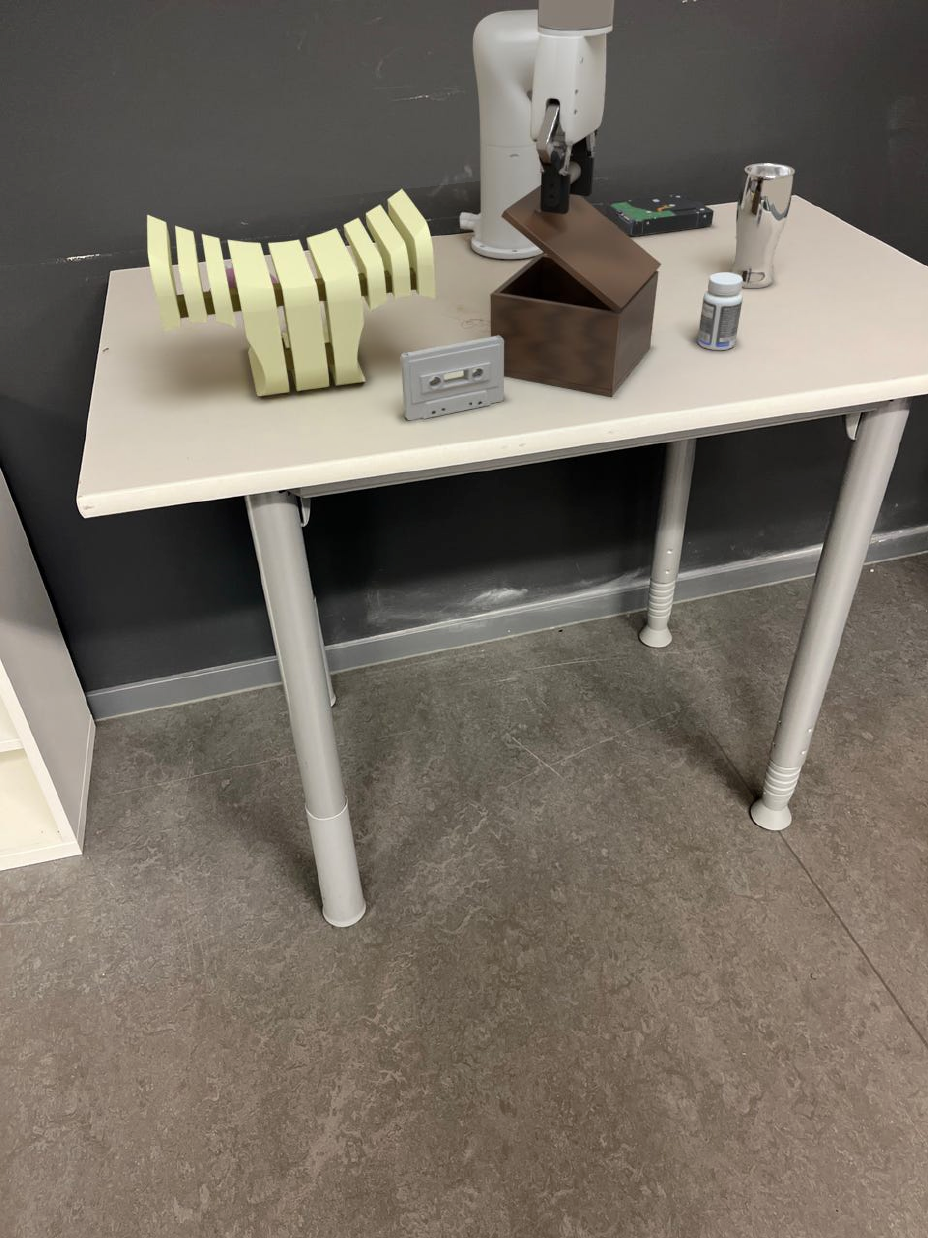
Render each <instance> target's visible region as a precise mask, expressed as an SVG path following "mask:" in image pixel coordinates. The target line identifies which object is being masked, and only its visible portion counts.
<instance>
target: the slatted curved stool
mask: <svg viewBox="0 0 928 1238" xmlns="http://www.w3.org/2000/svg"><path fill="white" fill-rule="evenodd" d="M387 210H388V214H387V212H386V211H385V210H384V208H383V206H382V204H378V205H377V206H375V207H373V208H372V209H371V210H369V211H367V212H365V223H366V226H367V229H368V230H369V232H370V234H371V236H372V238H373V240H374V242H373V240H372V238H371V237H370V235H369V233H368V232H367V230H366V228H365V227H364V225H363V223H362V221H361V219H360V218H359V217H357V218H354V219H353V220H350V221H348V222H347V223H344V224H343V231H344V237H345V239H346V241H347V243H348V245H349V247H350V250H351V251H352V252H351V253H352V254H353V257H354V260H355V262H354V260H353V257H352V256H351V254H350V252H349V250H348V249H347V246H346V244H345V242H344V240H343V238H342V237H341V234H340V232H339V230H338V228H337V227H335V228H333V229H331V230H328V231H325V232H322V233H319V234H316V235H312V236H309V237H306V244H307V249H308V251H309V254H310V257H311V260H312V263H313V265H314V268H315V271H316V275H317V277H316V278H315V276H314V274H313V272H312V269H311V267H310V264H309V261H308V259H307V256H306V254H305V251H304V248H303V246H302V243H301V241H300V239H295V240H288V241H280V242H279V241H277V242H268V243H267V245H268V251H269V252H268V253H269V255H270V258H271V262H272V266H273V269H274V273H275V276H276V277H275V278H276V280H277V282H278V283H274V284H272V282H271V278H270V275H269V274H270V271H269V268H268V265H267V262H266V258H265V255H264V252H263V251H264V250H263V248H262V244H261V243H260V242H251V241H239V240H234V239H233V240H231V239H227V245H228V250H229V255H230V256H229V257H230V261H231V265H232V266H233V271H234V275H235V280H236V285H237V288H232V289H229V287H228V282H227V277H226V272H225V267H224V266H225V263H224V262H225V261H224V257H223V252H222V247H221V241H220V238H219V237H216V236H213V235H212V236H211V235H207V234H203V233H201V239H202V245H203V251H204V257H205V264H206V271H207V276H208V277H207V278H208V282H209V289H211V291H209V290H208V291H207V290H206V291H204V289H203V283H202V277H201V271H200V265H199V259H198V252H197V251H198V250H197V244H196V239H195V234H194V231H193V230H189V229H187V228H183V227H180V226H177V225H174V229H175V240H176V241H175V242H176V253H177V254H176V255H177V265H178V271H179V277H180V282H181V287H182V292H183V293H182V294H181V293H180V294H178V290H177V287H176V286H177V285H176V281H175V275H174V269H173V263H172V262H173V260H172V251H171V241H170V240H171V239H170V235H169V229H168V225H167V222H166V221H164V220H161V219H160V218H157V217H154V216H152V215H149V214H146V231H147V232H146V234H147V235H146V236H147V237H146V238H147V240H146V241H147V243H146V244H147V257H148V263H149V269H150V275H151V280H152V284H153V288H154V293H155V297H156V301H157V305H158V309H159V313H160V319H161V323H162V326H163V330H164V332H168V331H170V330H173V329H175V328H178V327H182V326H183V325H182V324H183V323H182V319H185V318H186V319H187V318H188V319H189V323H190V324H197V323H205V322H209V318H208V316H210V315H211V316H212V315H215V318H216V323H220V324H225V325H229V326H231V327H233V328H235V329H237V324H236V320H235V314H234V313H235V312H236V313H237V312H241V317H242V322H243V326H244V331H245V337H246V340H247V341H248V342H249V344H250V347H249V349H248V351H247V353H248V359H249V363H250V368H251V373H252V377H253V383H254V387H255V392H256V395H257V396H258V397H264V396H271V395H278V394H286V393H290V383H289V377H288V376H289V375H288V371H290V372H291V376H292V379H293V383H294V386H295V391H297V392H300V391H308V390H315V389H322V388H328V387H330V378H329V377H330V376H329V371H330V374H331V378H332V379H333V383H334V385H335V386H337V387H338V386H342V385H343V386H344V385H351V384H357V383H364V382H366V377H365V375H364V373H363V371H362V368H361V366H360V363H359V361H358V352H359V345H360V339H361V336H362V331H363V328H364V325H365V320H364V309H363V299H362V297H363V298H364V300H365V302H366V305H367V306H368V308H369V310H370V312H373V311H374V309H376V308H377V307H378V306H380V305H381V304H383V303H386V302H387V301H388V300H387V294H392V296H393V298H394V299H399V298H407V297H412V291H415V292H416V294H417V295H418V297H423V298H432V299H436V298H437V297H436V275H435V256H434V248H433V247H434V246H433V241H432V237H431V233H430V232H431V231H430V229H429V225H428V223H427V220H426V219H425V218H424V216H423V215H422V213H421V212H420V211H419V210H418V207H417V206H415V204H414V203H413V201H412V199H410V197H409V196H408V194H407V193H406V192H405V191H404V189H403V188H401V189H400V190H397V192H395V193H394V194H393V195H391V196H390V197H389V198H387ZM374 243H375V244H374ZM375 245H376V246H375ZM355 263H356V264H355ZM320 302H323V309H324V314H325V321H326V327H323V319H322V312H321V304H320ZM278 307H282V311H283V315H284V321H285V327H286V328H285V329H286V332H281V325H280V319H279V314H278Z"/></svg>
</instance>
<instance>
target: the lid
mask: <svg viewBox="0 0 928 1238" xmlns="http://www.w3.org/2000/svg"><path fill="white" fill-rule="evenodd" d="M567 174H571V180H570V184H572V183H573V182H574V181H576V180H577V179H578V178H579V177H580V174H581V169H580V166H579V165H578V164H577V163H576V162H569V166H568V171H567ZM540 200H541V185H540V186H538V187H537V188H536V189H534V190H533V191H531V192H530V193H528V194H527V195H526V196H524V197H523V198H521V199H520V200H518V201H517V202H516V203H514V204H513V205H511V206H510V207H508V208H507V209H506V210H504V212H503V214H502V215H501V217H502V218H504V219H505V220H506V221H507V222H508V223H510V224H511V225H512V226H513V227H514V228H515V229H517V230H518V231H519V232H520V233H521V234H523V235H524V236H525V237H526V238H527V239H529V240H530V241H531V242H532V243H533V244H535V245H536V246H537V247H538V248H539V249H541V250H542V251H543V252H544V253H543V254H544V255H548V256H549V257H550V258H551V259H553V260H554V261H555V262H556V263H557V264H559V265H560V266H561V267H562V268H563V269H564V270H566V271H567V272H568V273H569V274H570V275H572V276H573V277H574V278H575V279H576V280H578V281H579V282H580V283H581V284H582V285H584V286H585V287H586V288H587V289H588V290H590V291H591V292H592V293H593V294H594V295H596V296H597V297H598V298H599V299H600V300H602V301H603V302H604V303H605V304H606V305H607V306H609V307H610V308H611V309H612V310H613V311H615V312H616V313H618V312H619V311H620V310H621V309H622V308H623V307H624V306H625V305H626V303H627V302H628V301H629V300H630V299H631V298H632V297H633V296H634V295H635V294H636V292H637V291H638V290H639V289H640V288H641V287H642V286H643V285H644V284H645V283H646V281H647V280H648V279H649V278H650V277H651V276H652V275H653V274H654V273H655V272H656V271H658V270H659V268H660V267H661V266H662V263H661V262H660V261H659V260H657V259H656V258H655V257H654V256H652V255H651V254H650V253H649V252H648V251H647V250H645V249H644V247H641V245H640V244H638V243H637V242H636V241H634V239H632V238H631V237H630V235H628V234H627V233H626V232H624V231H623V230H621V229H620V228H619V227H617V226H616V225H615V224H613V223H612V222H611V221H610V220H609V219H608V218H606V215H604V214H603V213H602V212H600V211H599V210H598V209H596V207H594V206H593V205H592V204H590V202H588V201H587V200H586V199H585V198H584V197H583V196H580V195H573V194H570V200H569V211H568V212H567V213H566V214H558V213H551V212H543V211H542V210H541V209H540Z"/></svg>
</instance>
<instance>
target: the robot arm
mask: <svg viewBox="0 0 928 1238" xmlns="http://www.w3.org/2000/svg"><path fill="white" fill-rule="evenodd" d="M614 11H615V0H537V9H536V8H535V9H515V10H514V9H513V10H504V11H503V10H502V11H498V12H494V13H491V14H488V15H486V16H485V17H483V18H482V19H481V20H480V21H479V22H478V23H477V25H476V26H475V29H474V32H473V35H472V57H473V64H474V71H475V79H476V86H477V96H478V110H479V111H478V112H479V166H480V168H479V169H480V170H479V173H480V175H479V177H480V178H479V179H480V181H479V182H480V212H479V213H478V214H474V213H472V212H464V211H462V212H461V213H460V215H459V226H460V227H459V228H460V229H461V230H467V231H468V230H471V231H473V232H474V235H473V236H472V238H471V240H470V241H471V245H470V246H471V249H472V250H473V251H474V252H475V253H477V254H478V255H480V256H484V257H487V258H490V259H499V260H522V259H528V258H529V259H530V258H535V257H536V256H537V255H538V254H545V253H544V252H543V251H542V250H541V249H539V248H538V247H537V246H536V245H535V244H533V243H532V242H531V241H530V240H529V239H527V238H526V237H525V236H524V235H523V234H521V233H520V232H519V231H518V230H517V229H515V228H514V227H513V226H512V225H511V224H510V223H508V222H507V221H506V220H505V219H504V218H502V217H501V215H502V214H503V212H504V210H506V209H507V208H508V207H510V206H511V205H513V204H514V203H516V202H517V201H518V200H520V199H521V198H523V197H524V196H526V195H527V194H528V193H530V192H531V191H533V190H534V189H536V188H537V187H538V186H540V185H541V200H540V209H541V210H542V211H543V212H551V213H558V214H566V213H567V212H568V211H569V200H570V194H573V195H580V196H581V197H589V196H590V195H591V194H592V193H593V180H594V167H595V166H594V165H595V157H594V156H595V154H596V148H597V147H596V137H597V136H598V132H599V131H598V128H599V127H600V126H601V124H602V122H603V119H604V118H603V116H604V110H605V99H606V85H607V83H606V82H607V34H609V33H611V32H612V31H613V26H614V25H613V24H614V13H615V12H614ZM529 91H531V99H530V97H528V92H529ZM555 136H557V137H564V138H563V141H561V140H555ZM555 149H556V150H555ZM557 150H562V152H561V157H560V154H559V152H558V151H557ZM569 162H576V163H577V164H578V165H579V166H580V169H581V174H580V177H579V178H578V179H577V180H576V181H574V182H573V183H572V184H570V180H571V174H567V171H568V166H569Z"/></svg>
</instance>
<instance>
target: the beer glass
mask: <svg viewBox="0 0 928 1238" xmlns="http://www.w3.org/2000/svg"><path fill="white" fill-rule="evenodd" d="M795 171H796V170H795V169H794V168H793V167H791V166H788V165H785V164H780V163H771V162H764V163H763V162H762V163H754V164H750V165H746V166H745V168H744V172H743V175H742V180H741V184H740V189H739V193H738V198H737V206H736V214H735V215H736V217H735V218H736V219H735V237H736V238H735V256H734V261H733V263H732V267H731V269H730V272H729V273H734V274H738V275H740V276H741V277H742V279H743V281H742V288H744V289H763V288H766V287H769V286H771V284H772V282H773V261H774V257H775V253H776V249H777V247H778V244H779V241H780V239H781V237H782V233H783V230H784V228H785V225H786V221H787V218H788V216H789V212H790V207H791V202H792V195H793V189H794V180H795V179H794V178H795V173H796V172H795Z"/></svg>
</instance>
